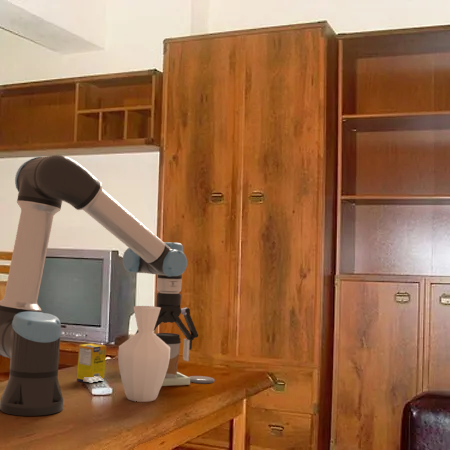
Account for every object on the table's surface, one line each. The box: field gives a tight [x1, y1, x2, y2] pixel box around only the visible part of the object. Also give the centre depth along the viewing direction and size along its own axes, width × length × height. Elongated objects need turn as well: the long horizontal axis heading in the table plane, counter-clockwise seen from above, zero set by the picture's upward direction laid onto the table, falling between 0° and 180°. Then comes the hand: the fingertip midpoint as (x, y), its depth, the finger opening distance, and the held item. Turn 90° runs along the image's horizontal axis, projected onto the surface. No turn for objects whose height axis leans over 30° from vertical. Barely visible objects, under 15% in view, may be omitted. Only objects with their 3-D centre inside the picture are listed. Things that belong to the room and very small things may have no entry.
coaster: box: [188, 375, 215, 385], centre depth 220 cm, size 9×9×1 cm
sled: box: [129, 333, 191, 387], centre depth 220 cm, size 13×25×12 cm, turn 28°
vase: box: [117, 305, 170, 403], centre depth 192 cm, size 14×14×25 cm
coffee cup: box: [155, 332, 182, 386], centre depth 213 cm, size 8×8×15 cm
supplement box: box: [76, 343, 107, 383], centre depth 210 cm, size 6×6×11 cm
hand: (165, 361), depth 214 cm, fingers open, 13 cm apart
